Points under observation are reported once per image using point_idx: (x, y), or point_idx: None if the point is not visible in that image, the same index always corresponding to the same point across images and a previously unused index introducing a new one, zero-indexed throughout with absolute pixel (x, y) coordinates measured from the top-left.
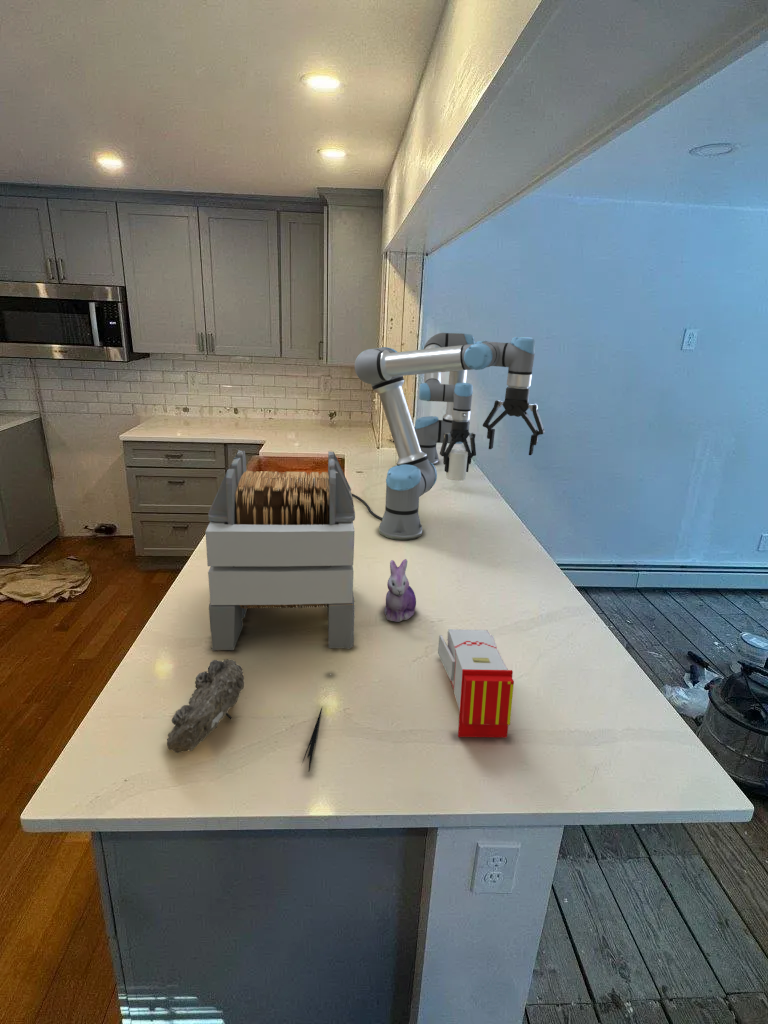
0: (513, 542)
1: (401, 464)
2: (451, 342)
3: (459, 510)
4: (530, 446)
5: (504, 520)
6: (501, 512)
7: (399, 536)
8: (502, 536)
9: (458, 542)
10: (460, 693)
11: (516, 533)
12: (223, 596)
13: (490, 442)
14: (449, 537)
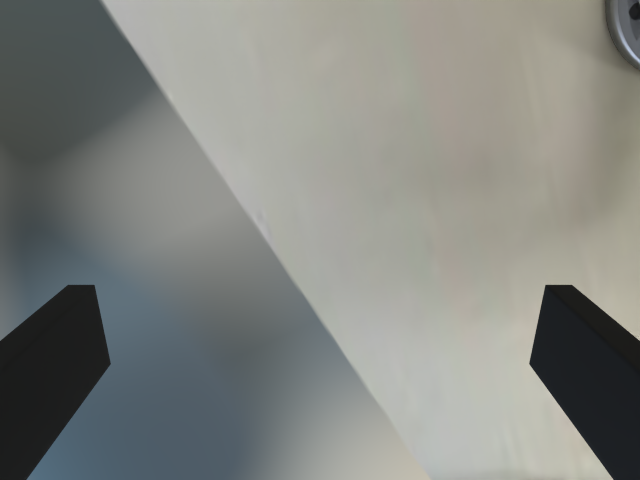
0: (265, 136)
1: None
2: None
3: (513, 327)
4: (20, 344)
5: (349, 317)
6: (377, 379)
7: None
8: (315, 171)
9: (448, 15)
10: None
11: (280, 225)
12: None
13: (608, 330)
14: (492, 47)
